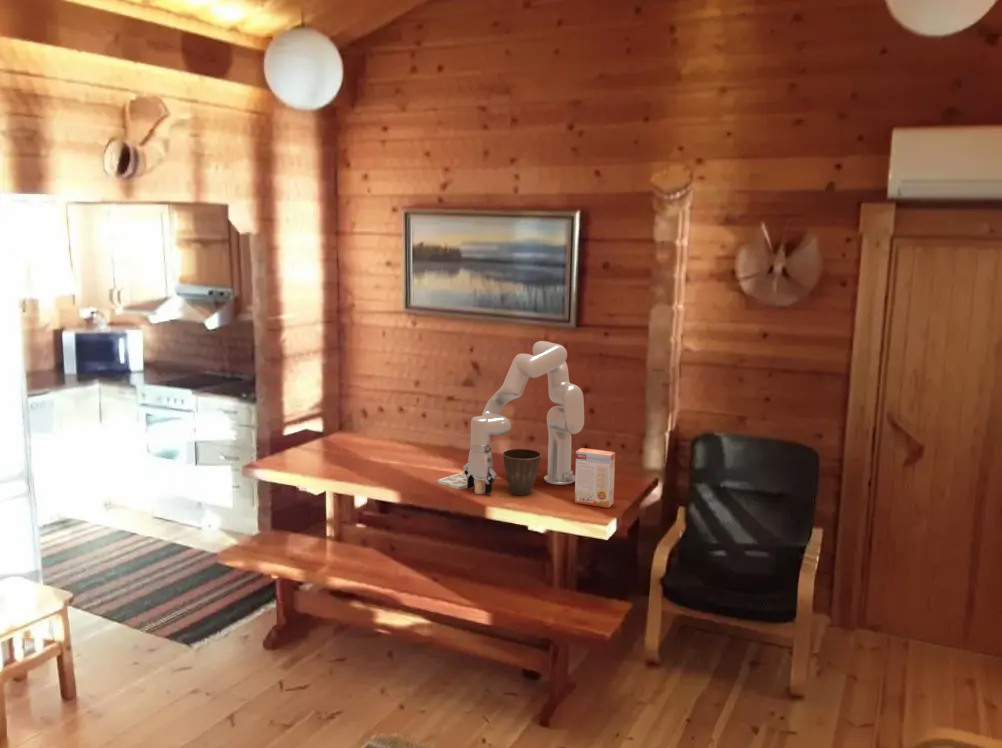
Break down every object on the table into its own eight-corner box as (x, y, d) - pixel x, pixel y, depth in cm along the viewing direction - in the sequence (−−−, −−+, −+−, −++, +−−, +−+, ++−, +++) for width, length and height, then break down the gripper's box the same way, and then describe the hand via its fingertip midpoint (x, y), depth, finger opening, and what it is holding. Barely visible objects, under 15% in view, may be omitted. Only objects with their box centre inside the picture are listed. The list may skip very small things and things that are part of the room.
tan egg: (487, 494, 344) (487, 480, 343) (480, 497, 341) (480, 482, 340) (479, 492, 346) (479, 478, 345) (472, 494, 344) (472, 480, 342)
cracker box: (613, 504, 334) (616, 451, 331) (608, 508, 329) (610, 455, 325) (579, 498, 341) (581, 446, 337) (574, 503, 335) (575, 450, 332)
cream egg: (477, 482, 356) (477, 468, 355) (470, 484, 353) (470, 470, 352) (470, 480, 359) (470, 466, 357) (463, 482, 356) (463, 468, 355)
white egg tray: (492, 481, 361) (492, 476, 360) (459, 492, 346) (459, 486, 346) (469, 475, 369) (469, 470, 369) (436, 485, 355) (436, 479, 355)
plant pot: (539, 487, 354) (540, 449, 352) (540, 498, 340) (541, 459, 337) (502, 486, 354) (503, 448, 352) (502, 498, 340) (503, 458, 337)
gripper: (503, 450, 337) (502, 493, 340) (470, 442, 349) (470, 483, 352) (490, 454, 332) (489, 497, 335) (457, 445, 343) (457, 487, 346)
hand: (479, 490), depth 343 cm, fingers open, 9 cm apart
